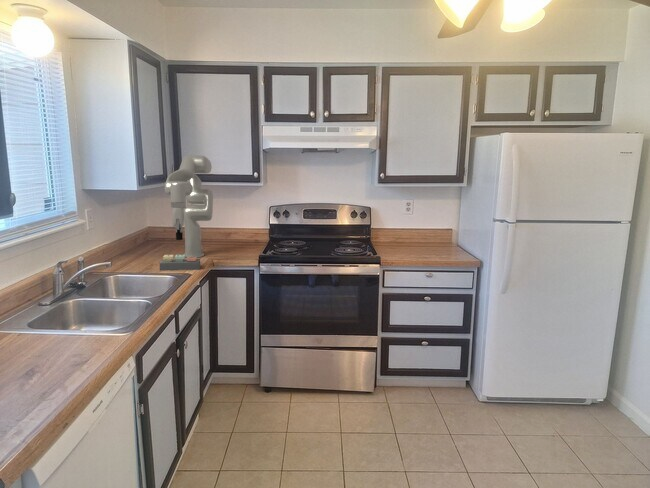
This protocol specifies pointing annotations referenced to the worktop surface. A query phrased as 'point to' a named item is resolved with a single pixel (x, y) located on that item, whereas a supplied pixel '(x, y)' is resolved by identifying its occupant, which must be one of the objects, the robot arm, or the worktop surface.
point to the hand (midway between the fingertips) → (179, 239)
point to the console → (179, 265)
